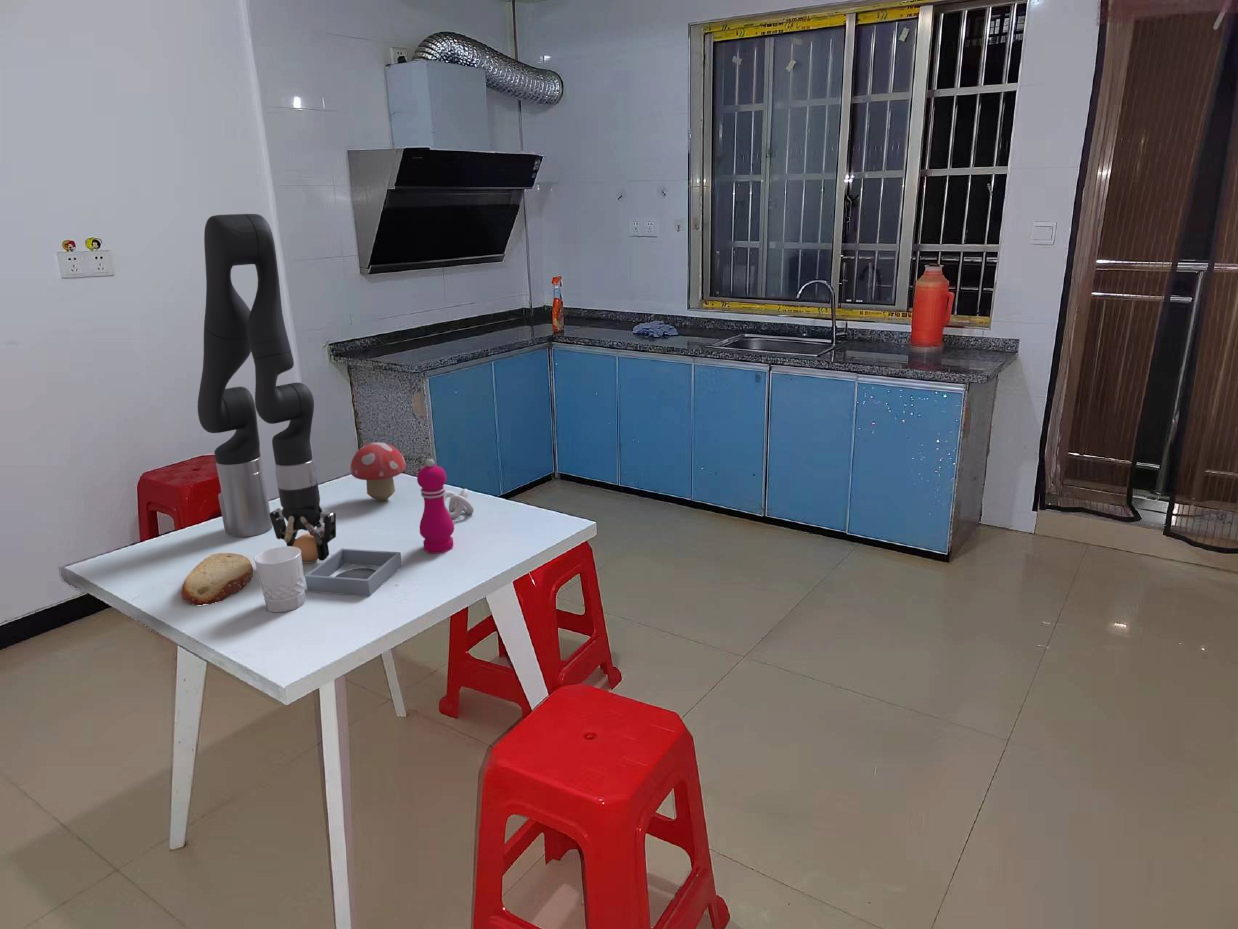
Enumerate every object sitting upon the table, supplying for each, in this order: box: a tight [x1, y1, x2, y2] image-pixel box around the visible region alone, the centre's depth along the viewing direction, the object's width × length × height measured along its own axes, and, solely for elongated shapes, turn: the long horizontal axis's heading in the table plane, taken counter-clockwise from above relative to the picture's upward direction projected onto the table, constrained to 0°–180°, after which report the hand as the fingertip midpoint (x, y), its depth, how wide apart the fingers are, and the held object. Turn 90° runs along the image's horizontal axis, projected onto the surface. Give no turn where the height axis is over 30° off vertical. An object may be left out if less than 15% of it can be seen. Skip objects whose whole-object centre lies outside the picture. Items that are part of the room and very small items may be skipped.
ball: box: [293, 533, 319, 564], centre depth 164 cm, size 6×6×6 cm
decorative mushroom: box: [350, 442, 407, 502], centre depth 197 cm, size 13×13×15 cm
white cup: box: [253, 545, 306, 613], centre depth 145 cm, size 8×8×10 cm
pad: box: [334, 567, 378, 579], centre depth 156 cm, size 9×9×1 cm
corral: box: [304, 547, 403, 597], centre depth 156 cm, size 13×13×3 cm
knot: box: [444, 488, 474, 520], centre depth 188 cm, size 8×8×6 cm
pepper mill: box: [416, 458, 455, 554], centre depth 167 cm, size 7×7×20 cm
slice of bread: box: [180, 552, 254, 606], centre depth 156 cm, size 18×18×4 cm
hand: (309, 558), depth 164 cm, fingers closed on ball, 6 cm apart
